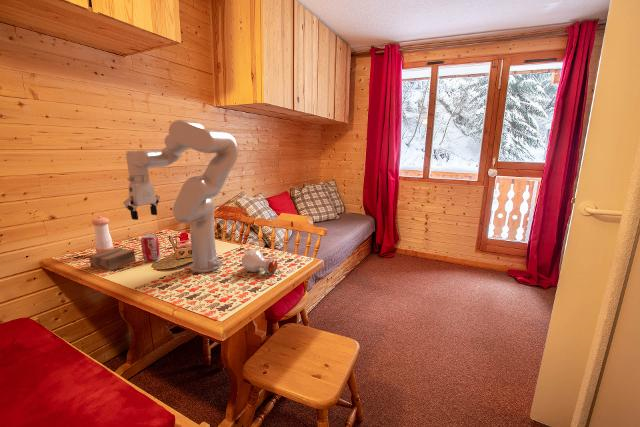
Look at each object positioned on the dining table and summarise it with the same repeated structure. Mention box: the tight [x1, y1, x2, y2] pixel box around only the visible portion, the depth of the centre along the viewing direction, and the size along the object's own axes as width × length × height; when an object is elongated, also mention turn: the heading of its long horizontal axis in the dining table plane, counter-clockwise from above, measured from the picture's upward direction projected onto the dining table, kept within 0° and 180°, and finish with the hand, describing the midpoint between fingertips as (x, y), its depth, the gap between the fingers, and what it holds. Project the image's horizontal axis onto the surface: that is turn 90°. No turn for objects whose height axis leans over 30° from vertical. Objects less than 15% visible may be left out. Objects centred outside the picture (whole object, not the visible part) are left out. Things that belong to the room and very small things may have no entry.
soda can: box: [140, 233, 161, 264], centre depth 137 cm, size 7×7×12 cm
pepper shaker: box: [91, 215, 115, 254], centre depth 146 cm, size 7×7×19 cm
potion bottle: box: [241, 249, 279, 275], centre depth 125 cm, size 9×10×15 cm
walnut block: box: [88, 247, 136, 272], centre depth 134 cm, size 12×12×5 cm
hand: (145, 217), depth 135 cm, fingers open, 9 cm apart
